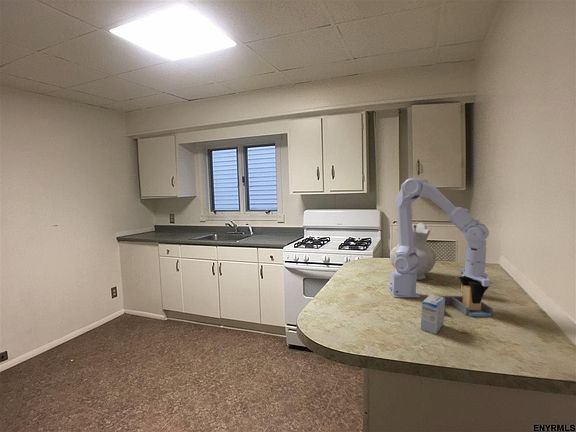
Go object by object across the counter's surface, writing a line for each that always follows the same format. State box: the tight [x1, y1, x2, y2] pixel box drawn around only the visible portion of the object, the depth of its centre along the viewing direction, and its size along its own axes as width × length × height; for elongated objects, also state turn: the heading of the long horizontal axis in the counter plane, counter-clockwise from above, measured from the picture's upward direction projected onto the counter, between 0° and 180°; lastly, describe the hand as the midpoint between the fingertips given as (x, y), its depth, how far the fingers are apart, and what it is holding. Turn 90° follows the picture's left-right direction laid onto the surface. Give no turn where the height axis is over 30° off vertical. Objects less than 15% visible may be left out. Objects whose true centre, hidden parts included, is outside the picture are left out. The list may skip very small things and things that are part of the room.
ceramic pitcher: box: [389, 221, 437, 281], centre depth 144 cm, size 22×20×25 cm
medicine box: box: [420, 294, 446, 335], centre depth 94 cm, size 8×4×9 cm, turn 141°
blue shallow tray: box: [439, 295, 493, 318], centre depth 108 cm, size 16×12×2 cm
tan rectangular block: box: [462, 286, 483, 310], centre depth 107 cm, size 4×4×7 cm
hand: (472, 300), depth 107 cm, fingers closed on tan rectangular block, 4 cm apart
